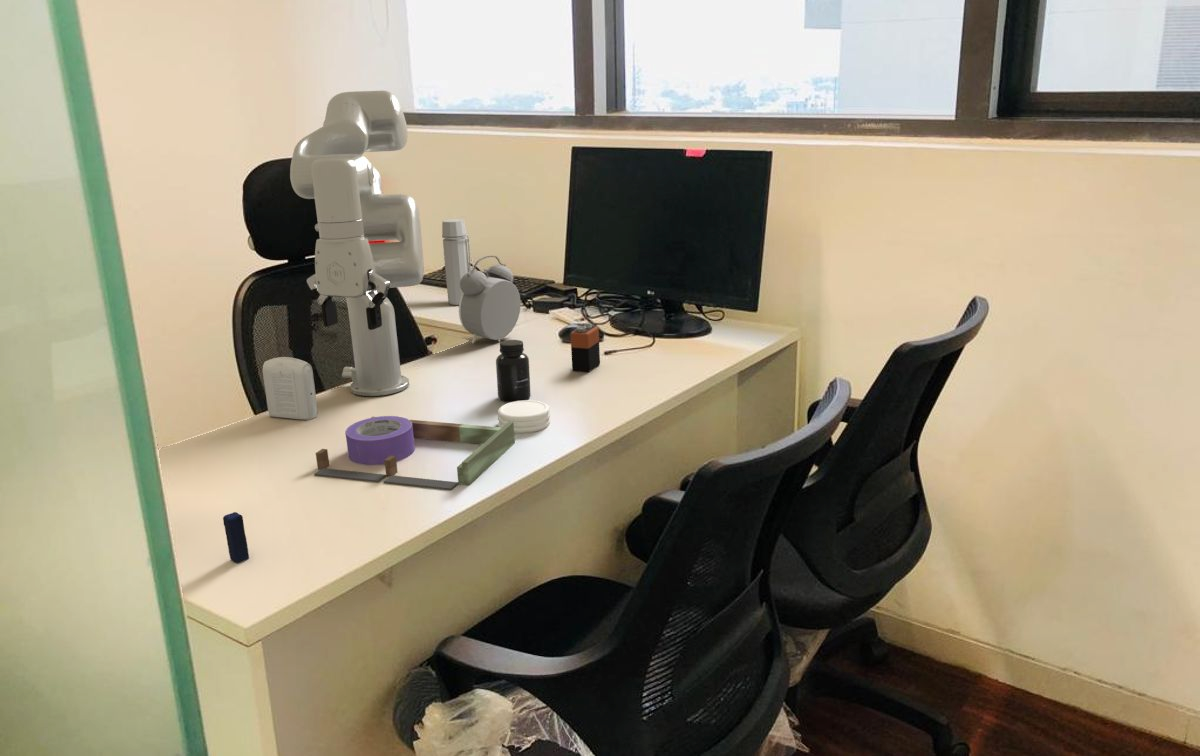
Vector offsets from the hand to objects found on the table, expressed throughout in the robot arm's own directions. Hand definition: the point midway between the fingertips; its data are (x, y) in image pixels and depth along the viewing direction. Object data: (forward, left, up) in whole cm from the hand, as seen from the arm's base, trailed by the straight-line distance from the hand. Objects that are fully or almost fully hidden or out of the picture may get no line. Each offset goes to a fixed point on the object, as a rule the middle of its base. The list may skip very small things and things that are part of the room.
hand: (353, 326), depth 165 cm
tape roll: (+6, -4, -22) cm, 24 cm away
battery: (+26, +52, -22) cm, 62 cm away
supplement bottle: (+18, +29, -22) cm, 40 cm away
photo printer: (-22, +9, -22) cm, 33 cm away
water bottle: (-32, +107, -22) cm, 114 cm away
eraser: (+7, -44, -22) cm, 50 cm away
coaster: (+26, +15, -23) cm, 37 cm away
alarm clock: (-6, +69, -22) cm, 73 cm away
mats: (+13, -15, -22) cm, 30 cm away
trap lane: (+13, -4, -22) cm, 26 cm away
